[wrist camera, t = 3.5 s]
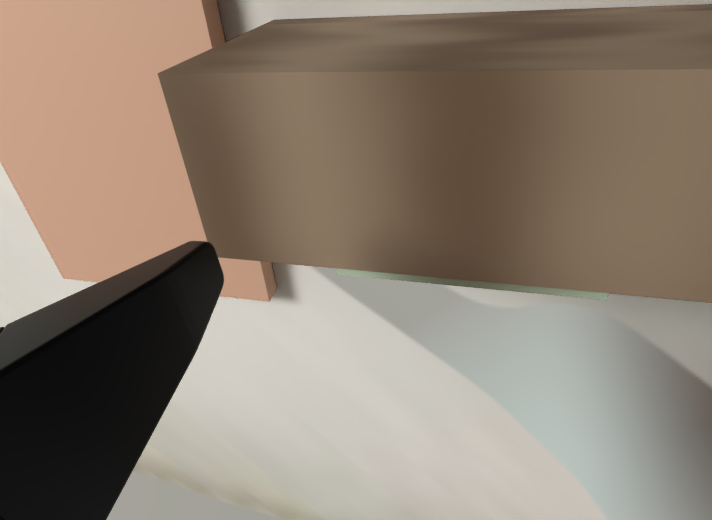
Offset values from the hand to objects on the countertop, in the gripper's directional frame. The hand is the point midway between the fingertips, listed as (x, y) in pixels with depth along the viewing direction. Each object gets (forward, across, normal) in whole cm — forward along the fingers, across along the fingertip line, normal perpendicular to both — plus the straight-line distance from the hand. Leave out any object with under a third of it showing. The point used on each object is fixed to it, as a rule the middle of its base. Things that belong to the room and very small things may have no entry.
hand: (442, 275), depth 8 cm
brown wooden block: (+10, 0, 0) cm, 10 cm away
